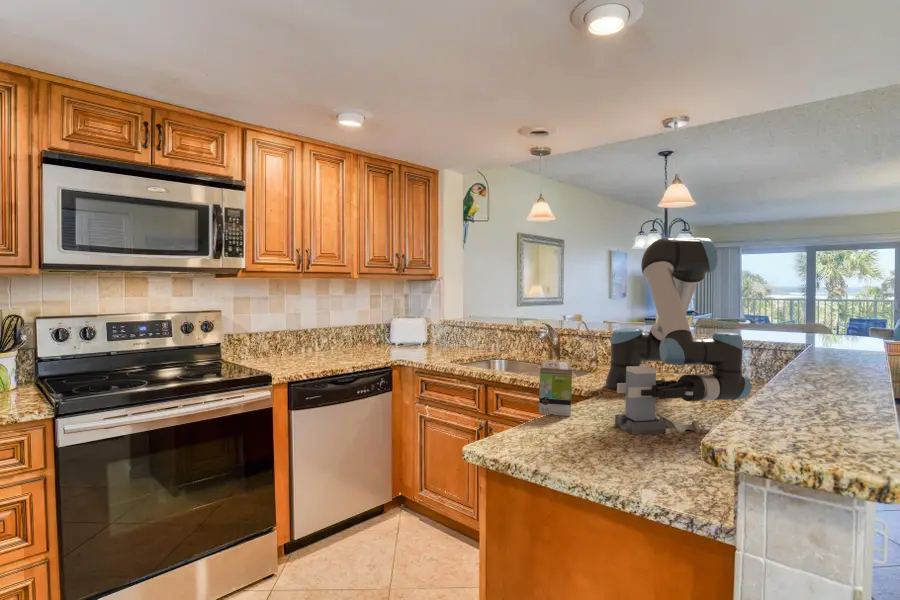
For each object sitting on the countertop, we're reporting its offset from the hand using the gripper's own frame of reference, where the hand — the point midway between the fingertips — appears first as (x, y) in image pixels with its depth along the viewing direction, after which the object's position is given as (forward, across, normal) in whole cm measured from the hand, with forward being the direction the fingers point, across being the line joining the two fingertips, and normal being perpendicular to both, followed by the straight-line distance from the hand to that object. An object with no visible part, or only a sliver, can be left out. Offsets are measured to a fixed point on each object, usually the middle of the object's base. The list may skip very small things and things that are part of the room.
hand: (623, 390), depth 135 cm
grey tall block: (-5, 0, -8) cm, 10 cm away
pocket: (-5, 0, -11) cm, 12 cm away
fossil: (-17, -1, -12) cm, 21 cm away
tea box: (+10, +24, -11) cm, 28 cm away
